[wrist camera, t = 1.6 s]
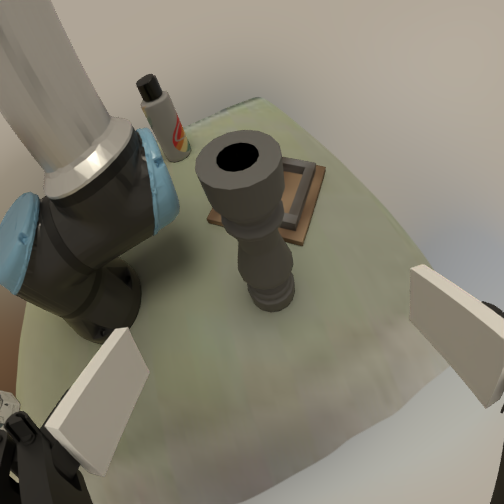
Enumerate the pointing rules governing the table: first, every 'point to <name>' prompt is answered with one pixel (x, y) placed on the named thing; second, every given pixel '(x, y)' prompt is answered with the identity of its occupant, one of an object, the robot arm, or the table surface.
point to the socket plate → (294, 199)
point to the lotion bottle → (163, 119)
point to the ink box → (7, 407)
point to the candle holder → (251, 210)
